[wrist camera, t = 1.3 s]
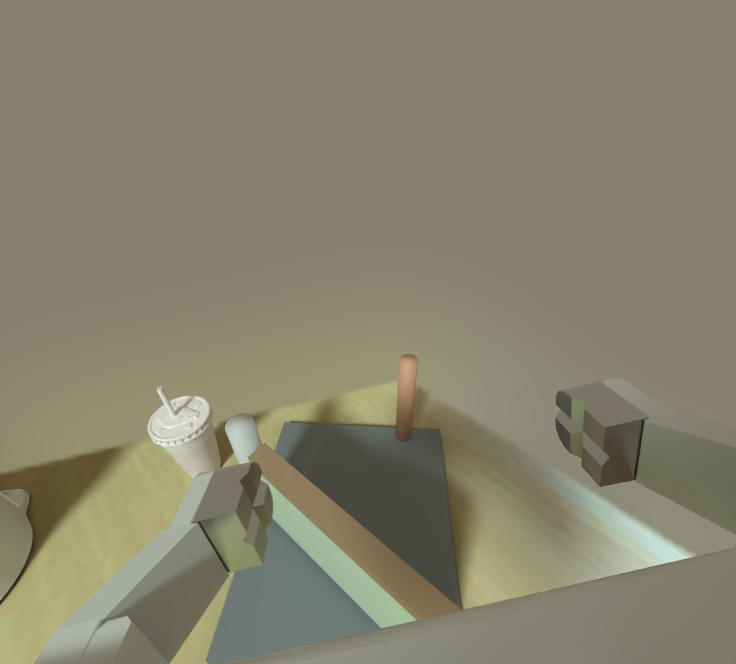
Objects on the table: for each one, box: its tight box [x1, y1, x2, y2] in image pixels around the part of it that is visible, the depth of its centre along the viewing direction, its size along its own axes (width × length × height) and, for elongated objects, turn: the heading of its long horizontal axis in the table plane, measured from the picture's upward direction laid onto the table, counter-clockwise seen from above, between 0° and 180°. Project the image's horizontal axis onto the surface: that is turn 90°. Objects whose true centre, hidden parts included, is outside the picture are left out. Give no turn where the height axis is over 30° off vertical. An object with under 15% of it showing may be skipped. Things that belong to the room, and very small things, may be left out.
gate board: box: [206, 354, 461, 664], centre depth 33 cm, size 21×24×15 cm
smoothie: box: [148, 386, 221, 479], centre depth 39 cm, size 6×6×14 cm
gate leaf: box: [248, 443, 461, 628], centre depth 28 cm, size 20×2×11 cm, turn 51°
